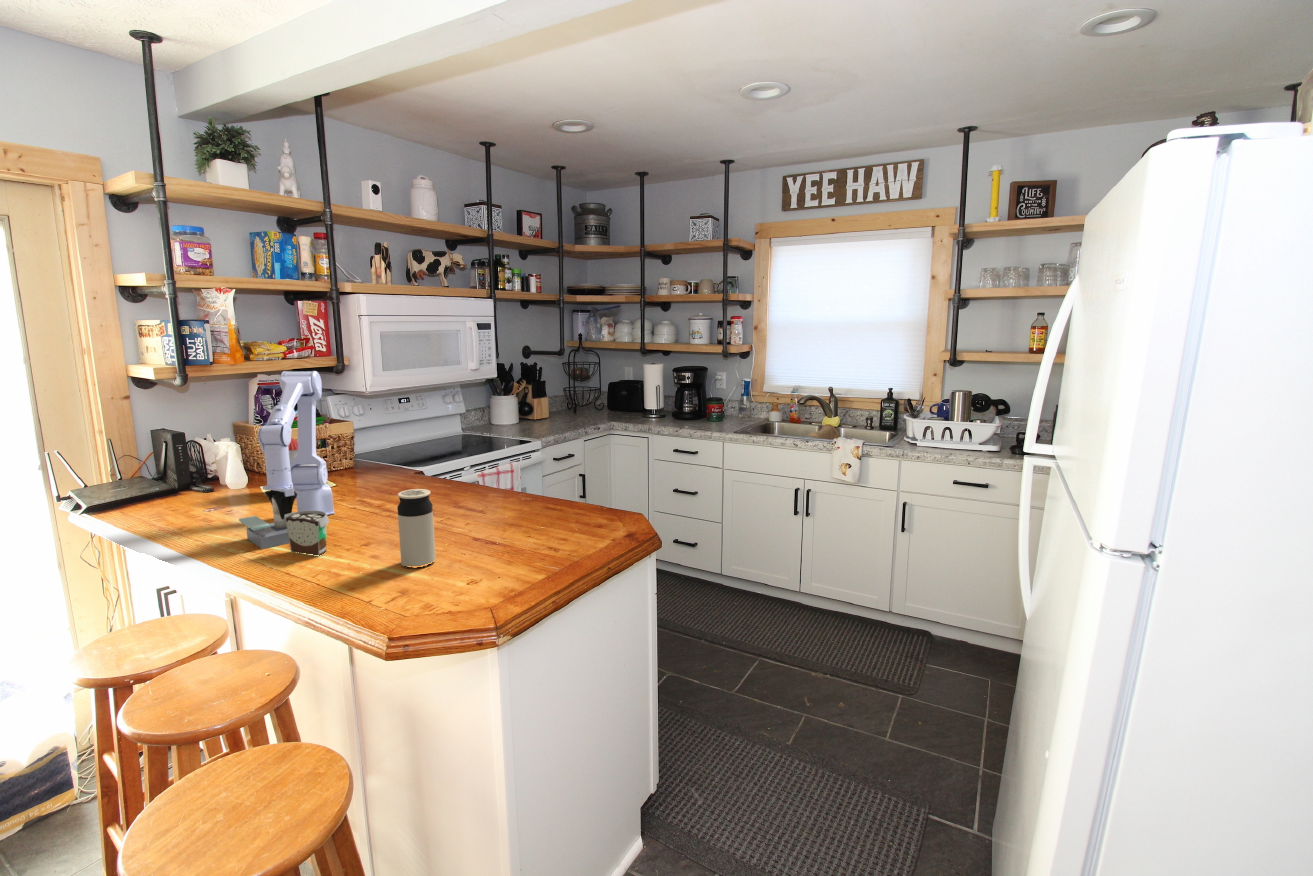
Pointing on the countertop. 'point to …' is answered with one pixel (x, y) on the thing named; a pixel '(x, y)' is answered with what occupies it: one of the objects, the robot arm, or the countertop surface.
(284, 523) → the peg
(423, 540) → the travel mug
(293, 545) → the food container
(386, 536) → the countertop surface
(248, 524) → the socket block
